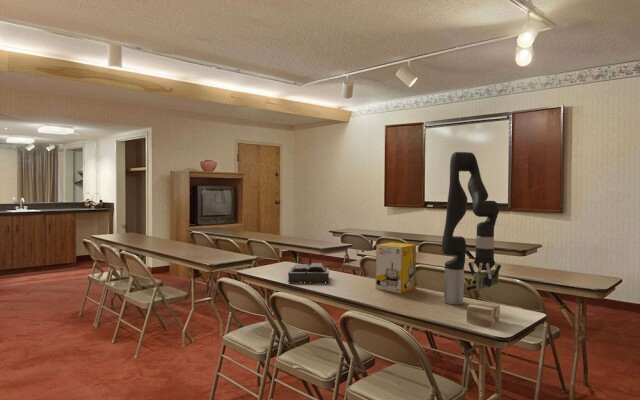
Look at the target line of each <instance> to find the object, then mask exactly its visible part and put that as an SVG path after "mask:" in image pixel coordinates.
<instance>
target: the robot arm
mask: <svg viewBox="0 0 640 400" xmlns="http://www.w3.org/2000/svg"><path fill="white" fill-rule="evenodd" d="M449 160H450V162H449V186H448V194H447V201H446V203H447V205H446V214H445V217H446V218H445V224H444V230H443V236H442V240H441V250H442V253H443V254H444V255H448V256H454V257H452V259H449V260H447V261H445V262H444V283H443V285H444V286H443V287H444V290H443V291H444V293H443V302H444V303H446V304H448V305H455V306H456V305H463V304H464V289H465V288H464V285H465V284H464V283H465V282H464V281H465V280H464V278H465V275H464V274H465V264H466V252H467V241H466V239H465V237H463V236H462V235H461V236H460V235H459V236H457V235H456V236H455V235H454V233H455V229H456V227H457V226H458V224H459V223H460V222H461V220H462V219H463V218H464V217H465V215H466V213H467V207H468V197H467V196H468V195H467V194H466V192H465V189H464V188H463V186H462V184H461V182H460V172H469V174H470V177H469V179H468V183H467V190H468V193H469V196H470V197H471V201H472V212H473V214H474V215H475V216H476V217H479V218H486V220H485V221H481V222H478V223H477V224H476V238H475V257H474V258H475V259H474V260H473V261H469V262H468V263H467V264H468V268H469V270H470V272H471V275H472V276H473V274H476V271H475V269H474V266H476V268H477V273H481V272H482V271H487V272H488V277H489V278H488V287H487V288H491V287H492V286H491V285H492V278H496V276H497V274H498V272H500V270H501V267H502V265H501V264H500V263H498V262H496V261H495V237H494V236H495V226H496V223H497V219H498V216H499V212H500V205H499V203H498V202H496V201H495V200H488V198H489V194H488V190H487V189H486V186H485V185H484V184H485V183H483V180H482V175H481V172H480V168H479V164H478V160H477V157H476V156H475V154H474V153H473V152H470V151H469V152H468V151H454V152H453V153H452V154H451V156H450V159H449ZM493 267H494V268H495V269H496V270H495V272H494V274H493V275H491V270H492V268H493Z"/></svg>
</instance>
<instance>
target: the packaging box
mask: <svg viewBox="0 0 640 400" xmlns="http://www.w3.org/2000/svg"><path fill="white" fill-rule="evenodd" d="M375 246H376V249H375V250H376V251H375V252H376V255H375V258H376V259H375V289H376V290H379V289H381V290H380V291H385V290H386V291H387V292H390V291H391V292H392V293H397V294H403V293H406V292H409V291H411V290H412V291H413V290H415V289H416V270H417V269H416V265H417V260H416V259H417V244H413V243H412V244H411V243H402V242H390V241H389V242H385V243H380V244H376V245H375Z"/></svg>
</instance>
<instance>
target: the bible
mask: <svg viewBox="0 0 640 400" xmlns="http://www.w3.org/2000/svg"><path fill="white" fill-rule="evenodd" d="M329 269H330V268H329V267H325V266H324V264H323V263H322V262H312V263H310V264H307V263H303V264H295V265H294V266H293V267H290V268H289V270H288V272H287V274H288V281H287V283H288V282H302V283H301V284H316V283H325V282H326V283H328V282H329V281H330V279H329V276H330V275H329V274H330V271H329ZM304 282H305V283H304ZM310 282H311V283H310ZM328 284H329V283H328Z"/></svg>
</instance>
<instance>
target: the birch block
mask: <svg viewBox="0 0 640 400" xmlns="http://www.w3.org/2000/svg"><path fill="white" fill-rule="evenodd" d="M500 308H501V307H500V304H497V303H493V302H485V301H479V300H476V301H474V302H472V303H471V304H469V305H467V306H466V323H469V322H470V324H475V325H479V326H480V325H481V326H485V327H488V328H489V327H492V326H493V325H495V324H496V323H498V322H499V321H500V311H501V310H500Z"/></svg>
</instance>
